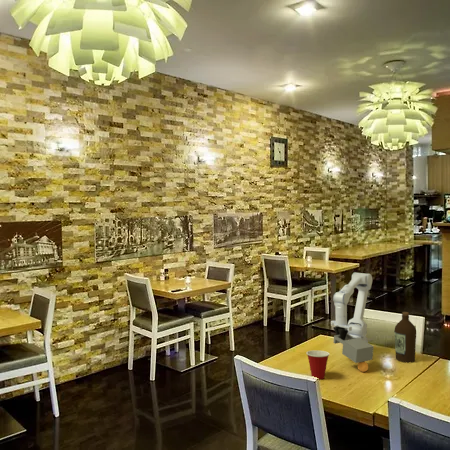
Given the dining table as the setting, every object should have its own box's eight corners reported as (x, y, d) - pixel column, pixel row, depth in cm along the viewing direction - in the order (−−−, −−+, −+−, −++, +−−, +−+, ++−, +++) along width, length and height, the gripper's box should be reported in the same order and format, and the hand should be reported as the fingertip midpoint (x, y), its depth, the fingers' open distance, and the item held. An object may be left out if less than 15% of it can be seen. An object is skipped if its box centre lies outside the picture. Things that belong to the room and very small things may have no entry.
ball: (363, 369, 218) (363, 359, 219) (370, 371, 214) (370, 361, 214) (355, 371, 216) (354, 361, 216) (362, 373, 212) (361, 362, 212)
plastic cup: (328, 373, 213) (328, 348, 213) (331, 382, 203) (331, 356, 202) (305, 372, 215) (305, 348, 214) (307, 381, 204) (307, 355, 203)
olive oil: (404, 355, 238) (404, 309, 237) (420, 361, 228) (421, 313, 227) (389, 358, 233) (390, 311, 232) (405, 364, 224) (405, 315, 223)
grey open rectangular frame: (347, 343, 233) (348, 331, 232) (372, 359, 216) (373, 346, 215) (331, 346, 229) (332, 333, 228) (355, 363, 212) (357, 349, 211)
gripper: (326, 313, 234) (326, 338, 235) (344, 319, 221) (344, 346, 222) (337, 311, 237) (337, 336, 238) (355, 317, 224) (355, 344, 224)
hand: (341, 341), depth 230 cm, fingers closed on grey open rectangular frame
